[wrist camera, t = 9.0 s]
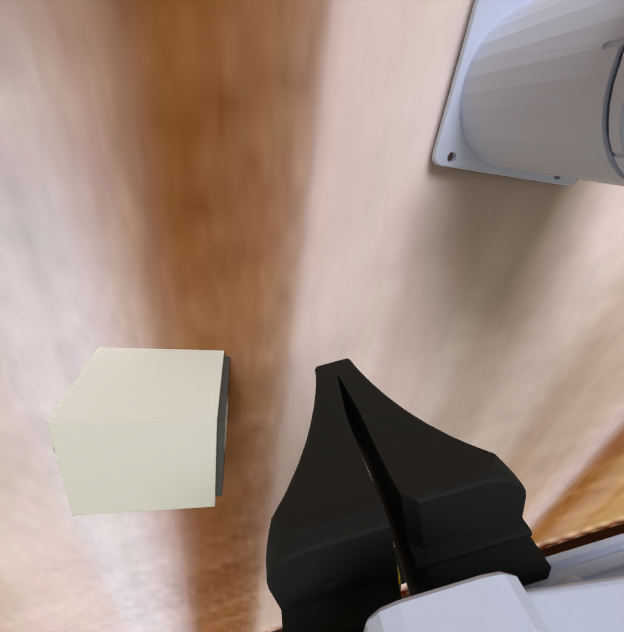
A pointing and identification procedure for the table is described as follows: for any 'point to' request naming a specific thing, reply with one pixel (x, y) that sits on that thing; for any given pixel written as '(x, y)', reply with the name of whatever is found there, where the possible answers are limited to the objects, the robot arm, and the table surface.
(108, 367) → the white block
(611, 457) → the table surface
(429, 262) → the table surface
